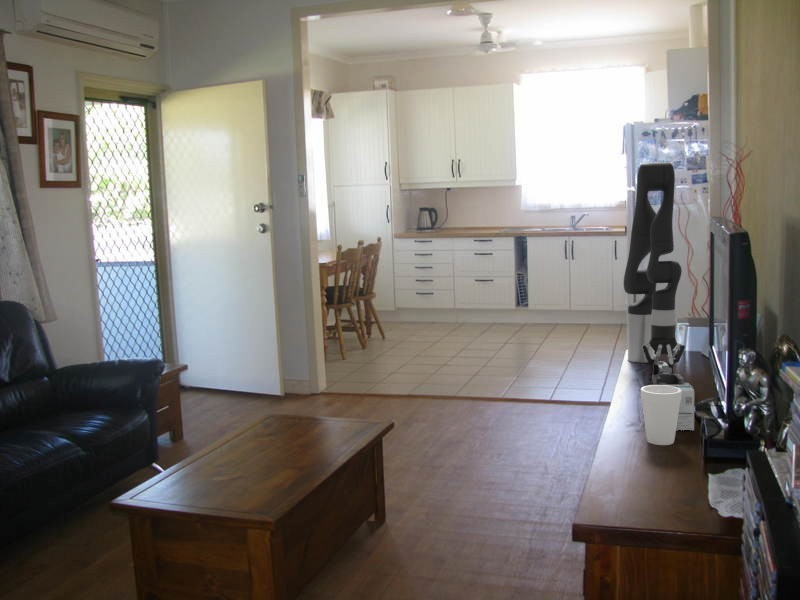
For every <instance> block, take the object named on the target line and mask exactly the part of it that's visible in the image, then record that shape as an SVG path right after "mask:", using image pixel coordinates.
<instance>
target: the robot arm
mask: <svg viewBox="0 0 800 600" xmlns="http://www.w3.org/2000/svg"><path fill="white" fill-rule="evenodd" d="M675 177H676V175H675V168H674V166H673V164H672V162H669V161H662V162H661V161H660V162H657V161H656V162H654V161H653V162H644V163H641V164H640V166H639V168H638V172H637V180H636V197H635V208H634V213H633V221H632V226H631V232H630V233H631V234H630V243H629V251H628V256H627V262H626V267H625V270H624V271H625V272H624V275H623V276H624V277H623V290H624V291H625V293H627V295H644V296H643V298H641V299H639V300H638V301H636V302H632V303H630V304H629V305H628V307H627V321H628V322H627V361H628V362H632V363H640V364H641V363H643V364H644V363H650V364H652V374H658V361H659V359H660V357H661V355H666V359H667V363H666V364H667V365H668V366H669V367H670V368H671V369H672V374H674V364H677V363H679V362H680V360H681V358H682V355H683V353H684V351H685V349H686V346H685V345H684V344H683V343H678V342H677V340H676V326H677V325H676V323H677V319H676V314H677V313H676V296H677V295H676V294H677V291H678V290H677V289H678V286H679V283H680V280H681V277H682V271H683V270H682V266H681V264H680V263H679V262H678V261H676V260H660V259H659V258H660V257H661V256H665V255H669V254H672V253H673V252H674V247H675V244H674V232H673V231H674V230H673V218H674V217H673V215H674V214H673V213H674V205H675V204H674V203H675V202H674V201H675V187H676V186H675V181H676V180H675V179H676V178H675ZM661 191H662V192H663V195H662V201H661V204H660V206H659V208H658V211H657V212H656V211H655V210H654V209H653V207H652V205H651V203H650V201H649V198H648V194H649V192H661ZM648 255H649V259H648V262H647V263H648V264H647V267H643V268H641V267H640V265H641V263H642V261H643V260H644V259H645V258H646V257H647V256H648ZM657 284H667V285H666V286H665V287H664V288H662V289H658V290H657ZM674 349H676V350H677V351H676V353H675V354H674V357H673V354H672V352H673V351H674Z"/></svg>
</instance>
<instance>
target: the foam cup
mask: <svg viewBox="0 0 800 600" xmlns="http://www.w3.org/2000/svg"><path fill="white" fill-rule="evenodd" d="M648 385H649V386H648ZM648 385H644V386H642V387H641V388H640V399H641V405H642V406H641V407H642V412H643V418H644V419H643V421H644V429H645V436H646V442H647V443H649V444H652V445H656V446H670V445H673V444H674V443H675V438H676V433H677V431H676V427H677V420H678V413H679V407H680V401H681V396H682V390H681V389H680V388H677V387H674V386H667V385H668V384H667V385H653V384H648Z"/></svg>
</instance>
